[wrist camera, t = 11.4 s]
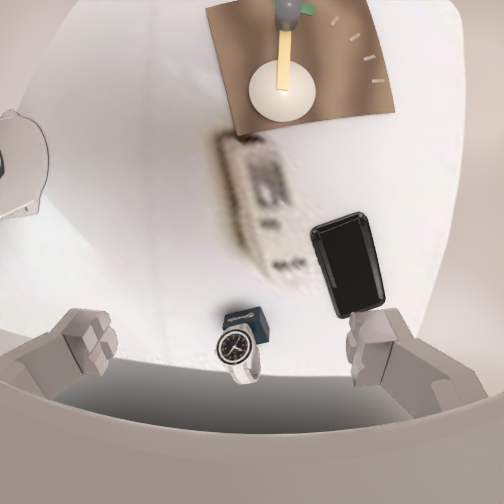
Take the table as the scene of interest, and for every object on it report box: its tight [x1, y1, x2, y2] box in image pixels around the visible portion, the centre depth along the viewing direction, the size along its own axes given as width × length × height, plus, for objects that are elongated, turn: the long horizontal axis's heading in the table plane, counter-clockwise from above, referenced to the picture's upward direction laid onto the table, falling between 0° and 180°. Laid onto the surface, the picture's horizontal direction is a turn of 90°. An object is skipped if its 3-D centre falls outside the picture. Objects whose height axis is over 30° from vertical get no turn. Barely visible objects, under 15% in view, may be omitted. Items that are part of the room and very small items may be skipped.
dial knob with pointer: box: [249, 0, 316, 122], centre depth 24 cm, size 14×7×8 cm, turn 177°
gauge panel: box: [206, 0, 395, 136], centre depth 28 cm, size 19×17×2 cm
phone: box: [310, 212, 386, 319], centre depth 40 cm, size 8×1×15 cm
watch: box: [214, 307, 269, 384], centre depth 40 cm, size 6×8×11 cm
